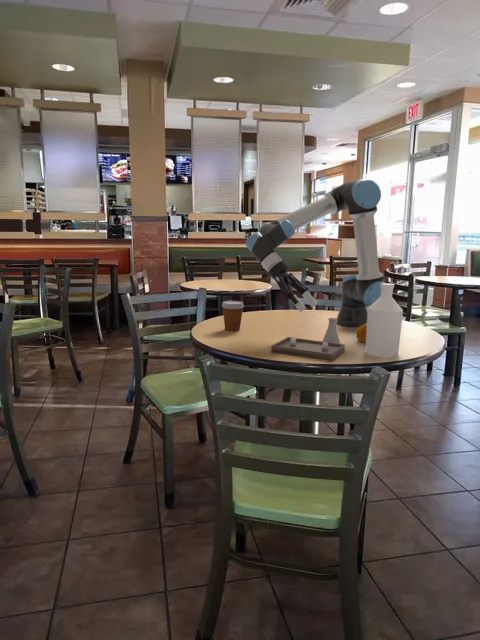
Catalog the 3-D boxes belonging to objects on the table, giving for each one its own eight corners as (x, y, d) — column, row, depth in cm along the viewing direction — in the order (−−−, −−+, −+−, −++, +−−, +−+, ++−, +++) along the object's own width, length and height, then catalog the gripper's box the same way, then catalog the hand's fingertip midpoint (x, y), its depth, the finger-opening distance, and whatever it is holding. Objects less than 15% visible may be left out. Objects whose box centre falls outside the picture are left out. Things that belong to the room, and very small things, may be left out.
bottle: (362, 348, 174) (367, 281, 169) (394, 350, 173) (400, 282, 168) (367, 357, 162) (373, 285, 158) (402, 358, 161) (409, 286, 157)
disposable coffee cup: (241, 333, 195) (241, 304, 193) (218, 331, 197) (219, 303, 195) (245, 328, 205) (246, 301, 202) (224, 327, 206) (224, 300, 204)
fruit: (353, 339, 188) (354, 320, 187) (374, 340, 188) (376, 321, 186) (357, 344, 180) (359, 324, 178) (380, 345, 180) (381, 325, 178)
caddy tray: (287, 343, 179) (288, 333, 179) (344, 351, 170) (345, 340, 169) (271, 352, 165) (271, 341, 165) (332, 361, 156) (332, 349, 155)
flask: (341, 343, 182) (343, 317, 180) (339, 347, 176) (341, 321, 174) (323, 341, 185) (324, 316, 183) (320, 345, 178) (321, 319, 176)
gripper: (280, 270, 198) (312, 309, 194) (255, 274, 176) (290, 318, 172) (293, 258, 195) (325, 297, 191) (268, 261, 173) (305, 305, 169)
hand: (309, 307), depth 181 cm, fingers open, 13 cm apart
